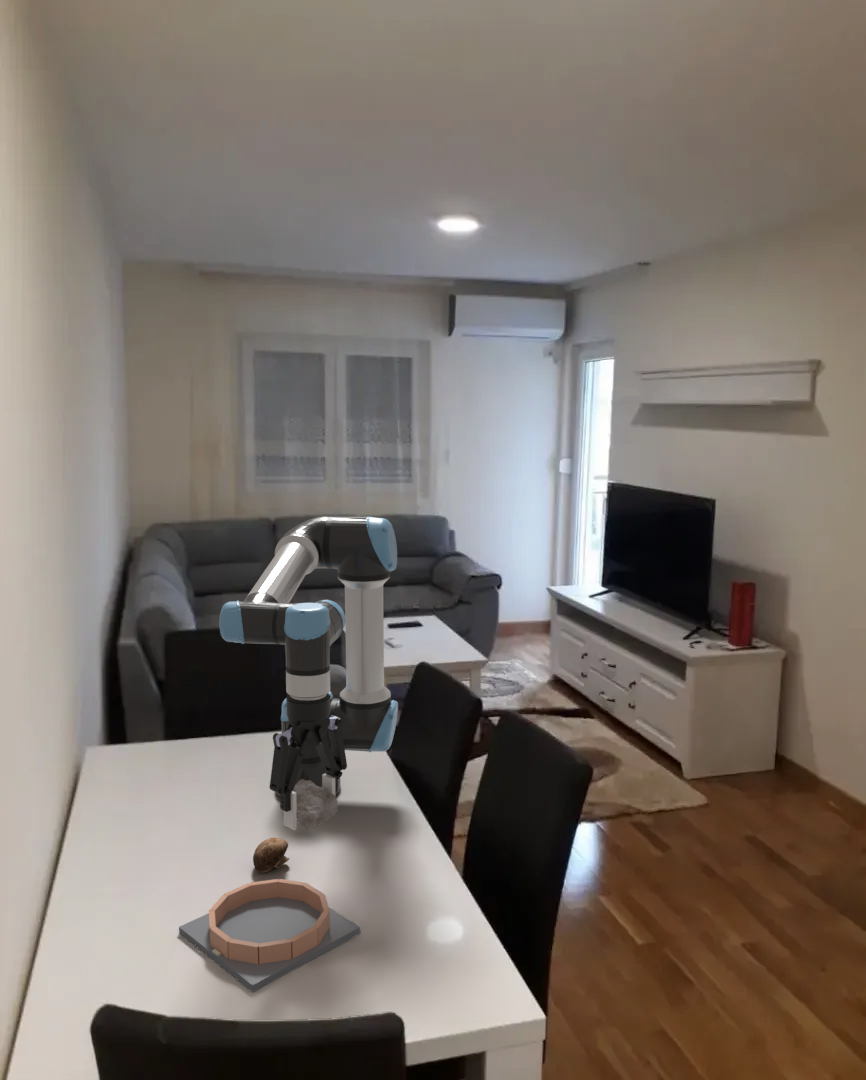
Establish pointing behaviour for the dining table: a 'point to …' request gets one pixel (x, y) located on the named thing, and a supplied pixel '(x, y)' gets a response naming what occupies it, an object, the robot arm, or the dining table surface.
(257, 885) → the socket
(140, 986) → the dining table surface
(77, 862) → the dining table surface
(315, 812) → the stone
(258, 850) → the mushroom
